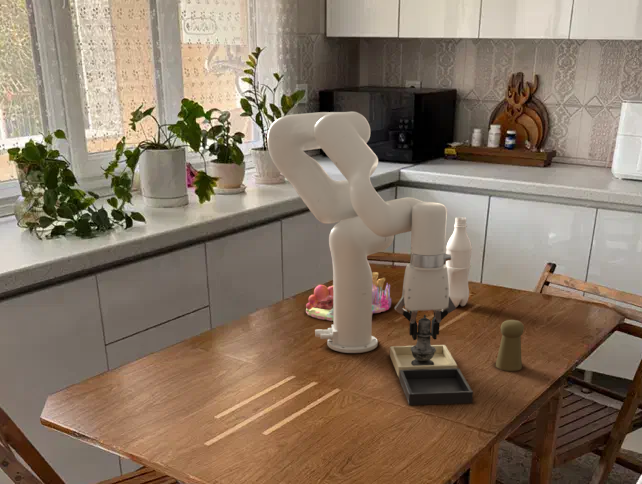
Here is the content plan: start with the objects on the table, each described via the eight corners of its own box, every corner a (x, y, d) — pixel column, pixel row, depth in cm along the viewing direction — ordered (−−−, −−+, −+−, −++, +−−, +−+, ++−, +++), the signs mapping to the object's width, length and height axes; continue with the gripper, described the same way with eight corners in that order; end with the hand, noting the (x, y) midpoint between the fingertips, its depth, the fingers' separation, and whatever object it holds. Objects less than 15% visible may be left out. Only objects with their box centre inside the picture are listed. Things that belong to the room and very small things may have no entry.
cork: (524, 363, 184) (528, 319, 180) (518, 372, 179) (523, 327, 174) (498, 359, 186) (502, 315, 182) (492, 368, 181) (496, 323, 177)
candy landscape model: (315, 293, 237) (315, 264, 233) (393, 296, 234) (394, 266, 230) (301, 320, 214) (300, 287, 210) (387, 323, 211) (388, 290, 207)
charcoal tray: (408, 405, 163) (409, 394, 162) (399, 380, 175) (399, 369, 174) (472, 403, 164) (473, 392, 163) (458, 378, 176) (458, 368, 175)
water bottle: (469, 308, 223) (475, 220, 213) (444, 308, 223) (449, 220, 213) (466, 300, 230) (471, 215, 220) (441, 300, 230) (446, 215, 220)
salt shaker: (434, 369, 180) (436, 319, 175) (408, 367, 181) (410, 317, 176) (436, 359, 185) (438, 311, 180) (411, 358, 186) (413, 310, 181)
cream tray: (398, 377, 177) (398, 367, 176) (389, 356, 189) (390, 346, 188) (456, 375, 177) (457, 365, 176) (444, 354, 190) (445, 344, 189)
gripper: (460, 255, 177) (456, 331, 184) (387, 256, 176) (385, 333, 183) (468, 263, 170) (463, 342, 177) (392, 265, 169) (390, 344, 176)
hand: (423, 337), depth 180 cm, fingers open, 3 cm apart
